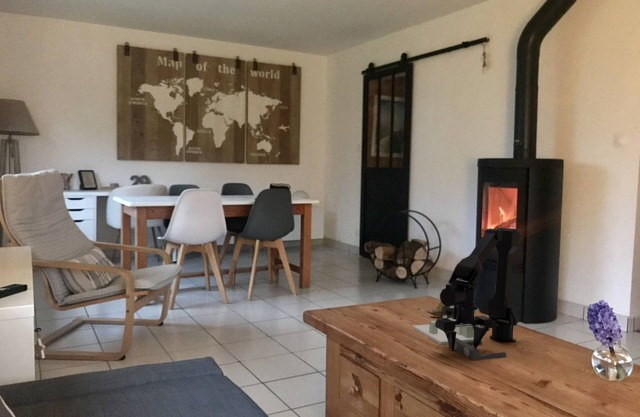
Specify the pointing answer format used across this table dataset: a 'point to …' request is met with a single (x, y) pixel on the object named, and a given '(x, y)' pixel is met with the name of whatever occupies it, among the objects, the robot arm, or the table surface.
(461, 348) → the glasses
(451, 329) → the robot arm
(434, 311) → the ceramic sculpture
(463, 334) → the display stand
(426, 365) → the table surface
